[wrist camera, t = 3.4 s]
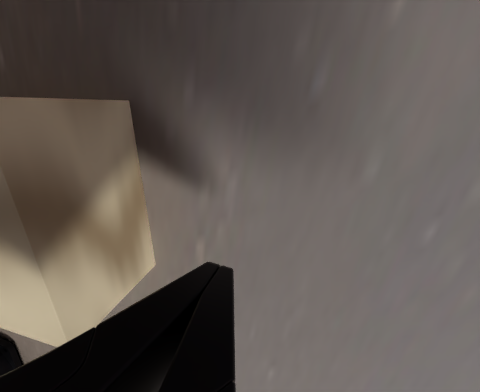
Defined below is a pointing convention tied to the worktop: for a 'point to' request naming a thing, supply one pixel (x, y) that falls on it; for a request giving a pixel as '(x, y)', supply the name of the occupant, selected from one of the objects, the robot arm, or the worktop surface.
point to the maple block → (68, 215)
